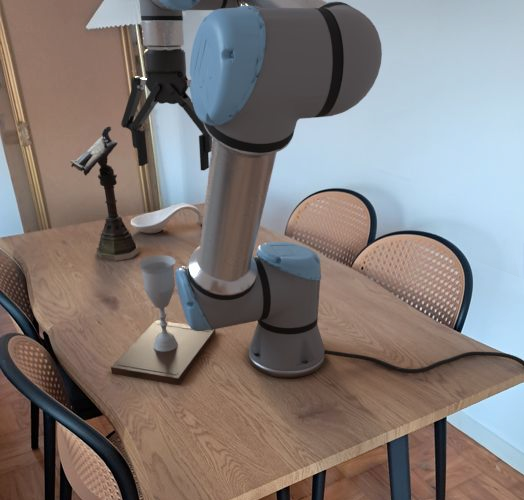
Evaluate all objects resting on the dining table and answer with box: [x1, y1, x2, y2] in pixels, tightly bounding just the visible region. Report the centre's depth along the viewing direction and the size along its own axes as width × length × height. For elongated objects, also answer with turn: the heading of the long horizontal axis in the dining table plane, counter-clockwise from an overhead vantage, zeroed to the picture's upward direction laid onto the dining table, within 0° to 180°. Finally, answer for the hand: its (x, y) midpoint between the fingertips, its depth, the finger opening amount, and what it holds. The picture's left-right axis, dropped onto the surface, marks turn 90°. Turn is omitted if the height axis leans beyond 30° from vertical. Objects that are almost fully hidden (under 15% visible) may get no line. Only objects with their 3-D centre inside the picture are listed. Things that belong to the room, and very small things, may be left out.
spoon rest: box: [130, 203, 204, 234], centre depth 178 cm, size 24×12×7 cm, turn 113°
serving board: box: [110, 319, 217, 386], centre depth 113 cm, size 14×20×2 cm
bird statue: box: [69, 126, 140, 262], centre depth 150 cm, size 17×13×35 cm
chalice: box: [138, 254, 178, 351], centre depth 108 cm, size 7×7×18 cm
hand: (173, 166), depth 113 cm, fingers open, 13 cm apart
